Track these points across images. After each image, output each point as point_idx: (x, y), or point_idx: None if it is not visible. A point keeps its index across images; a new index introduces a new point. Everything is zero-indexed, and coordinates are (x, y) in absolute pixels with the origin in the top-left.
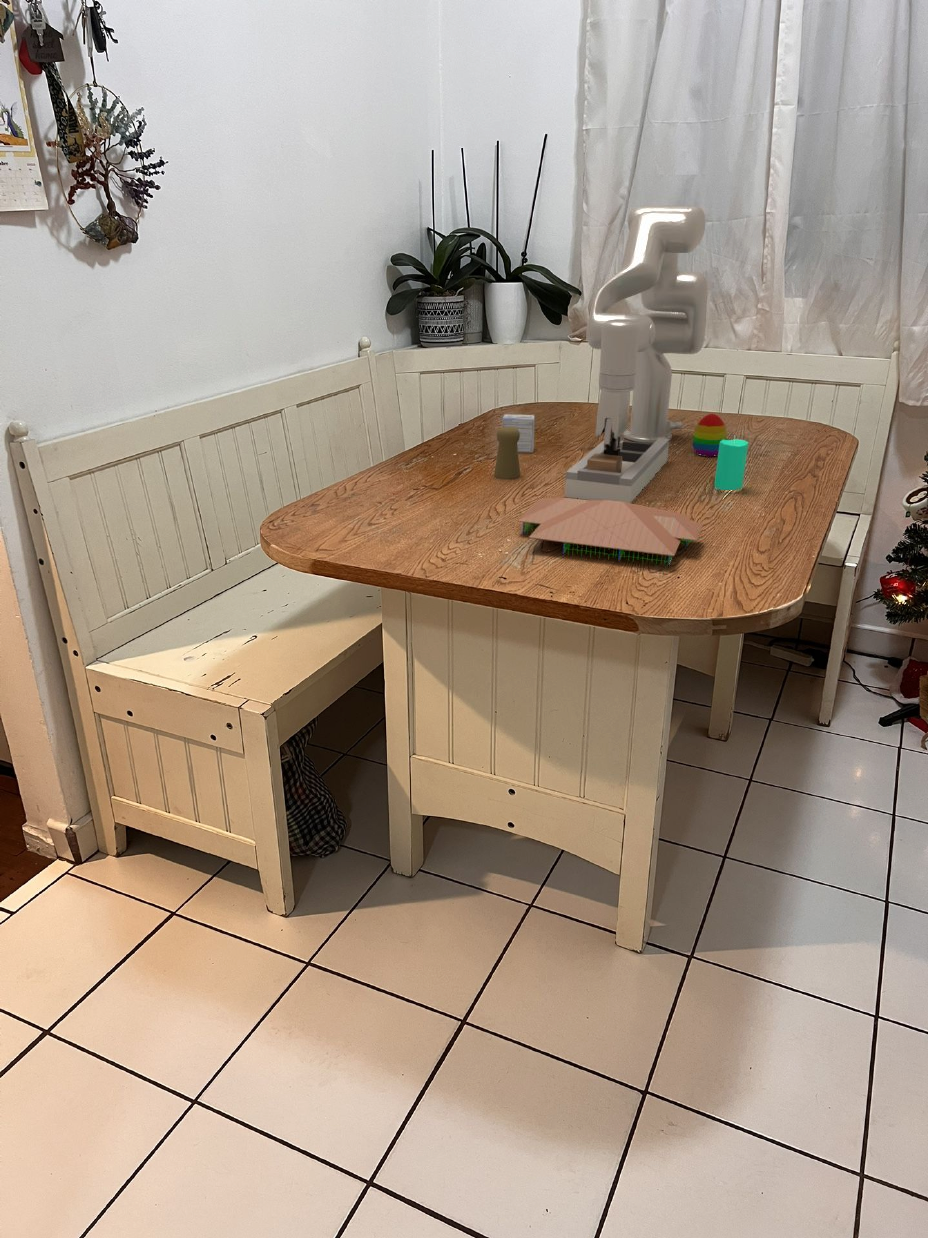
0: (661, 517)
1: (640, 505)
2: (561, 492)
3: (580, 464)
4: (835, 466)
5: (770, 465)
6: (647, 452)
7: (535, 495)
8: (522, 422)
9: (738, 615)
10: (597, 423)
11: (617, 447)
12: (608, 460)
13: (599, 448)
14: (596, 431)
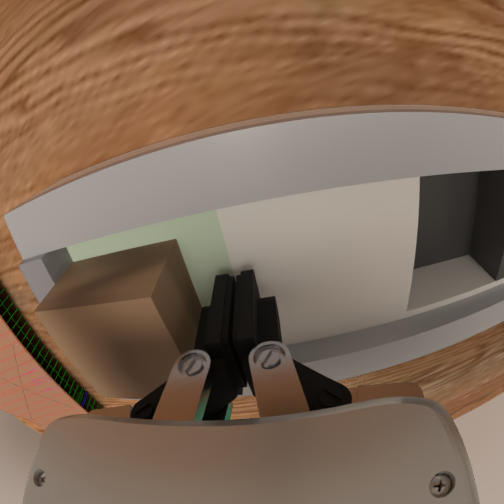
0: (40, 426)
1: (23, 417)
2: (86, 139)
3: (117, 196)
4: (485, 401)
5: (495, 371)
6: (465, 322)
7: (22, 104)
8: None
9: (32, 428)
10: (26, 495)
11: (229, 405)
12: (103, 376)
13: (487, 141)
14: (38, 446)
